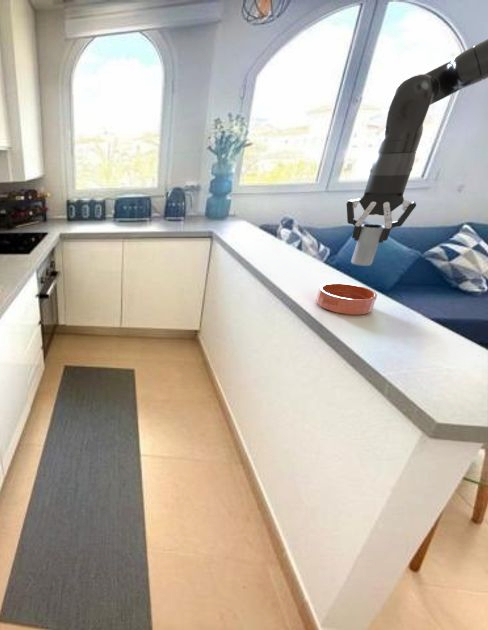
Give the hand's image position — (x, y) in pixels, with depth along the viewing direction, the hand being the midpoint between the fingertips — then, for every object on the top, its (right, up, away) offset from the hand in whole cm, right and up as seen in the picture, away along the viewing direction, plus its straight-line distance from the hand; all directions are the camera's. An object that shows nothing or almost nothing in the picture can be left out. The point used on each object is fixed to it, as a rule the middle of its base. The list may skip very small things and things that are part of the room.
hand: (368, 240), depth 92 cm
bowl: (+2, -17, +11) cm, 20 cm away
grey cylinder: (0, -6, +3) cm, 7 cm away
